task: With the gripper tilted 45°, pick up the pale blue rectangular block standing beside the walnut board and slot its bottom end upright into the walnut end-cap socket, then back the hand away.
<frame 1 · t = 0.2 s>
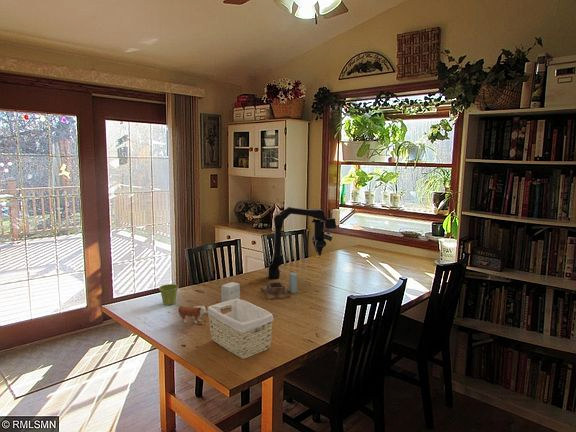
hand: (318, 254, 251), 15 cm above the table, tool pointing down, fingers open, 9 cm apart
storage basket: (240, 345, 160), on the table
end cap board: (275, 292, 222), on the table
plant pot: (169, 303, 204), on the table
bull figurine: (193, 322, 181), on the table
pale blue rectangular block: (293, 291, 225), on the table
small box: (230, 305, 203), on the table
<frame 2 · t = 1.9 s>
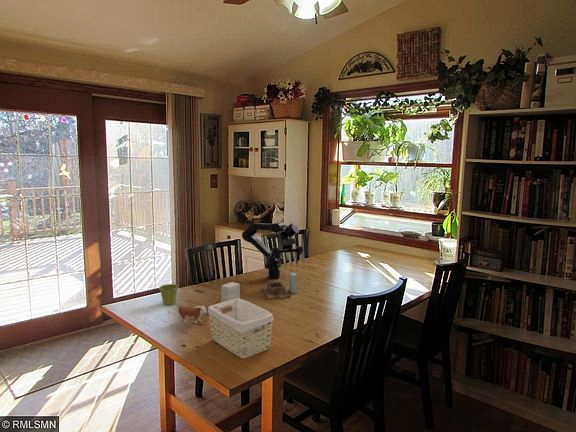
hand: (289, 263, 232), 13 cm above the table, tool tilted 45°, fingers open, 9 cm apart
nothing on the table moved.
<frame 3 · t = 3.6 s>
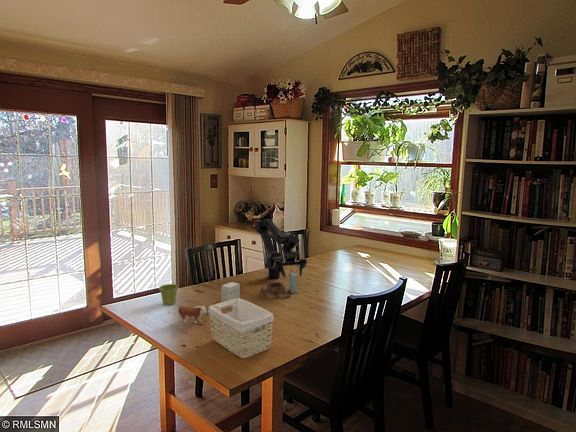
hand: (292, 276, 225), 8 cm above the table, tool tilted 45°, fingers open, 9 cm apart
nothing on the table moved.
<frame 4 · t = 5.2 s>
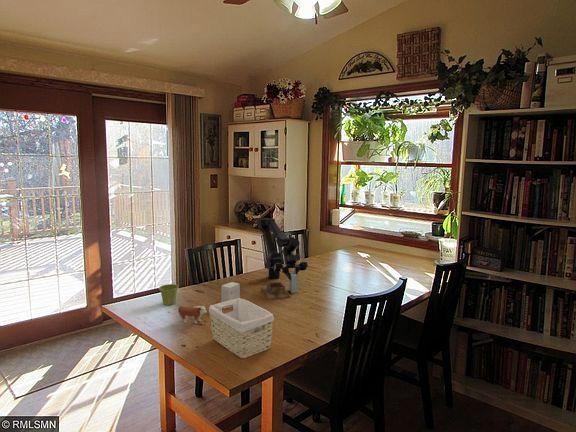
hand: (293, 280, 224), 7 cm above the table, tool tilted 45°, fingers closed on pale blue rectangular block, 3 cm apart
pale blue rectangular block: (293, 291, 225), on the table, touching gripper
everything else where it was.
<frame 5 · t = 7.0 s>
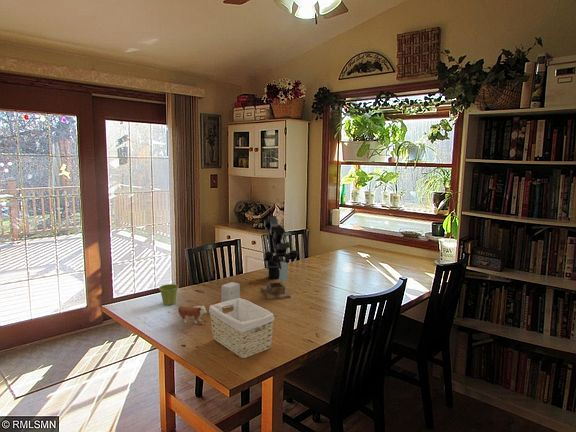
hand: (283, 268, 221), 14 cm above the table, tool tilted 45°, fingers closed on pale blue rectangular block, 3 cm apart
pale blue rectangular block: (283, 280, 222), point 7 cm above the table, touching gripper
everything else where it was.
when the fingers open (9 cm above the table, at t = 8.7 s): pale blue rectangular block stays where it is, resting on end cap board.
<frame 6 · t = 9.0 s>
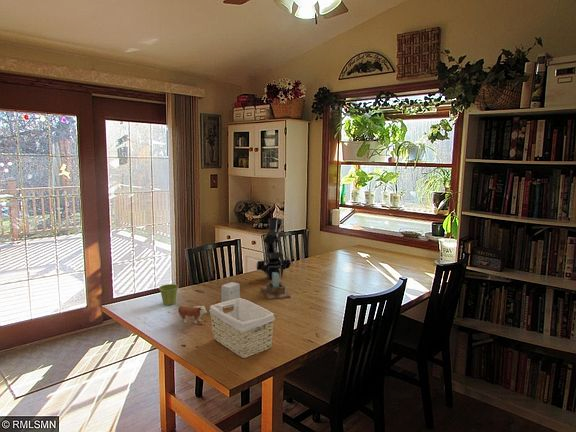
hand: (275, 278, 220), 9 cm above the table, tool tilted 45°, fingers open, 6 cm apart
pale blue rectangular block: (275, 291, 222), point 1 cm above the table, touching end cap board
everything else where it was.
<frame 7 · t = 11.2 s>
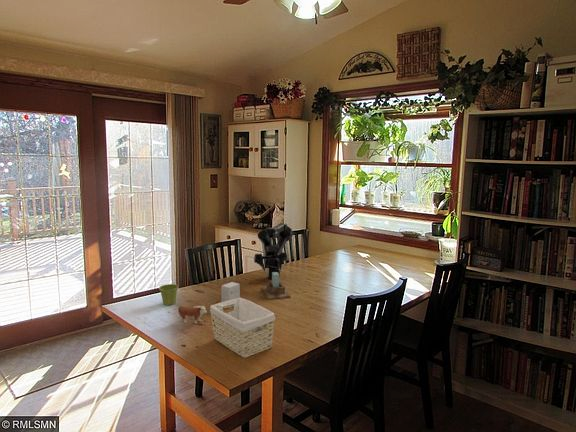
hand: (272, 270, 229), 10 cm above the table, tool tilted 45°, fingers open, 9 cm apart
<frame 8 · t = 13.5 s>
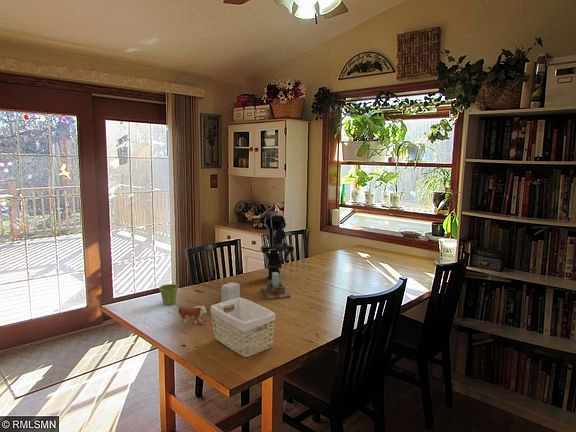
hand: (277, 262, 235), 13 cm above the table, tool pointing down, fingers open, 9 cm apart
at the end: pale blue rectangular block 0.1 cm off-centre on the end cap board, point 1.0 cm above the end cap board's base; pale blue rectangular block tilted 0°; the gripper is holding nothing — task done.
